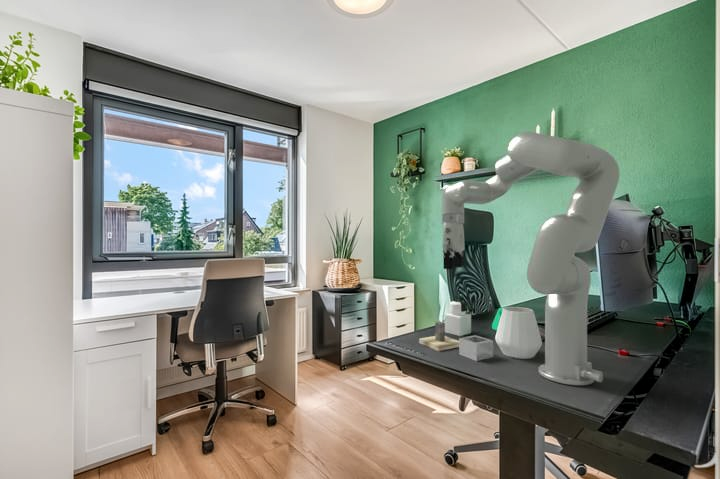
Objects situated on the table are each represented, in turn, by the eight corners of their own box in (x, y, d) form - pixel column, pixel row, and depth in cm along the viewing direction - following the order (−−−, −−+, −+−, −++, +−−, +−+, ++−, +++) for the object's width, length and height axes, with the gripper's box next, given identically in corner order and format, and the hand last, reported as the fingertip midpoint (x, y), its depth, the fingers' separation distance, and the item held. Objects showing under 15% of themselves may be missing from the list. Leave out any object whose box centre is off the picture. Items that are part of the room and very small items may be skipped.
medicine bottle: (455, 329, 140) (455, 299, 140) (471, 333, 134) (471, 301, 134) (444, 332, 135) (444, 301, 135) (460, 336, 130) (460, 304, 130)
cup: (551, 361, 104) (551, 313, 104) (505, 361, 104) (505, 314, 104) (529, 346, 117) (528, 305, 117) (488, 347, 117) (488, 305, 117)
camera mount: (530, 338, 128) (530, 310, 128) (511, 339, 126) (511, 311, 126) (509, 330, 140) (509, 304, 140) (492, 331, 138) (492, 304, 138)
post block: (461, 346, 118) (461, 324, 118) (438, 351, 113) (438, 327, 113) (441, 338, 127) (441, 318, 127) (419, 343, 122) (419, 321, 122)
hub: (493, 357, 107) (493, 340, 107) (476, 361, 104) (476, 344, 104) (475, 350, 114) (475, 335, 114) (459, 354, 110) (459, 338, 110)
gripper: (455, 218, 116) (455, 270, 116) (470, 220, 130) (471, 266, 130) (433, 219, 120) (433, 269, 120) (451, 220, 134) (451, 265, 134)
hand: (453, 268), depth 125 cm, fingers open, 9 cm apart
